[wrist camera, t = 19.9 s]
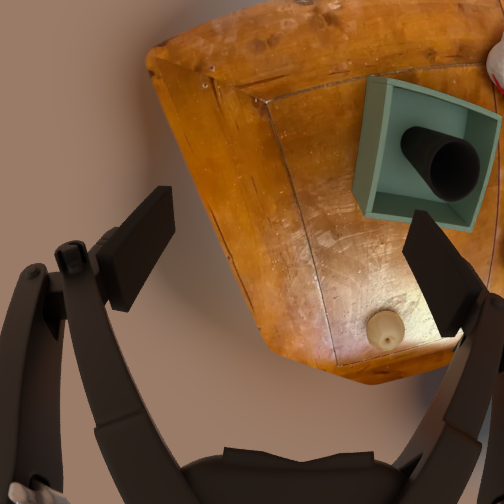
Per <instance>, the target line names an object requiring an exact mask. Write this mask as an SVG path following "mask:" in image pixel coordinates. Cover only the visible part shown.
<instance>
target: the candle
mask: <svg viewBox="0 0 504 504" xmlns="http://www.w3.org/2000/svg"><path fill="white" fill-rule="evenodd" d="M486 68H487V72H488V75H489V77H490V79H491V80H492V82H493V83H494V84H495V85H496V86H497V88H498V90H499V91H500V93H501V94H502V95H504V32H503V36H502V38H501V41H500V42H499V43H498V44H496V45H495V46H494V47H493V48H492V49H491V51H490V52H489V55H488V58H487V62H486Z"/></svg>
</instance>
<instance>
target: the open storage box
mask: <svg viewBox="0 0 504 504" xmlns="http://www.w3.org/2000/svg"><path fill="white" fill-rule="evenodd" d="M501 123H502V116H501V115H498V114H496V113H494V112H492V111H489V110H487V109H485V108H482V107H480V106H477V105H475V104H472V103H470V102H467V101H464V100H462V99H459V98H456V97H453V96H451V95H448V94H445V93H442V92H439V91H436V90H432V89H429V88H426V87H422V86H419V85H416V84H412V83H408V82H405V81H401V80H397V79H393V78H388V77H375V76H367V85H366V95H365V104H364V112H363V120H362V128H361V135H360V142H359V149H358V155H357V162H356V168H355V174H354V180H353V185H352V192H353V195H354V197H355V199H356V201H357V203H358V205H359V207H360V209H361V211H362V213H363V215H364V217H365V218H374V219H382V220H389V221H397V222H404V223H411V222H412V218H413V215H414V211H415V209H417V210H423V211H427V212H428V213H429V215H430V216H431V217H432V218H433V220H434V221H435V222H436V223H437V225H438V226H439V227H440V228H445V229H452V230H458V231H464V232H470V233H472V230H473V227H474V225H475V222H476V219H477V216H478V213H479V210H480V207H481V204H482V201H483V198H484V194H485V191H486V188H487V184H488V181H489V177H490V173H491V170H492V166H493V162H494V157H495V153H496V149H497V144H498V139H499V134H500V129H501ZM413 126H419V127H424V128H427V129H431V130H434V131H438V132H441V133H445V134H448V135H451V136H454V137H457V138H461V139H464V140H466V141H467V142H469V143H470V144H471V145H472V146H473V147H474V148H475V150H476V152H477V154H478V156H479V160H480V175H479V179H478V182H477V184H476V186H475V187H474V189H473V190H472V192H471V193H470V194H469V195H468V196H466V197H465V198H463V199H461V200H459V201H454V202H449V201H444V200H442V199H440V198H438V197H437V196H436V195H435V194H434V193H433V192H432V190H431V189H430V188H429V186H428V185H427V184H426V182H425V181H424V180H423V178H422V177H421V176H420V175H419V173H418V172H417V171H416V170H415V168H414V167H413V166H412V165H411V163H410V162H409V161H408V160H407V159H406V157H405V156H404V155H403V153H402V151H401V147H400V141H401V137H402V135H403V133H404V132H405V131H406V130H407V129H409V128H411V127H413Z"/></svg>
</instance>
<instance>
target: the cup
mask: <svg viewBox="0 0 504 504" xmlns="http://www.w3.org/2000/svg"><path fill="white" fill-rule="evenodd" d="M400 147H401V151H402V153H403V155H404V156H405V157H406V159H407V160H408V161H409V162H410V163H411V165H412V166H413V167H414V168H415V170H416V171H417V172H418V173H419V175H420V176H421V177H422V178H423V180H424V181H425V182H426V184H427V185H428V186H429V188H430V189H431V190H432V192H433V193H434V194H435V195H436V196H437V197H438V198H440V199H442V200H444V201H449V202H454V201H459V200H461V199H463V198H465V197H466V196H468V195H469V194H470V193H471V192H472V190H473V189H474V187H475V186H476V184H477V182H478V179H479V175H480V160H479V156H478V154H477V152H476V150H475V148H474V147H473V146H472V145H471V144H470V143H469V142H467V141H466V140H464V139H461V138H457V137H454V136H451V135H448V134H445V133H441V132H438V131H434V130H431V129H427V128H424V127H419V126H413V127H411V128H409V129H407V130H406V131H405V132H404V133H403V135H402V137H401V141H400Z"/></svg>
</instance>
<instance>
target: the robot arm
mask: <svg viewBox="0 0 504 504" xmlns="http://www.w3.org/2000/svg"><path fill="white" fill-rule="evenodd" d="M174 233H175V221H174V211H173V200H172V187H171V186H158V187H157V188H156V189H155V190H154V191H153V192H152V193H151V194H150V195H149V196H148V197H147V198H146V199H145V200H144V201H143V202H142V203H141V204H140V205H139V206H138V207H137V208H136V209H135V210H134V211H133V213H132V214H131V215H130V216H129V217H128V218H127V219H126V220H125V221H124V222H123V223H122V225H121V226H120V227H114V228H112V229H111V230H109V231H107V232H106V233H105V234H104V235H103V236H102V237H101V239H99V241H98V242H97V243H96V244H95V245H94V246H93V247H92V248H91V250H90V251H89V252H88V253H87V250H86V246H85V244H84V242H82V241H78V240H74V241H69V242H66V243H64V244H62V245H61V246H59V247H58V248H57V249H56V251H55V254H54V255H55V258H56V261H57V264H58V267H59V270H60V272H52V273H48V271H47V268H46V266H45V265H44V264H41V263H36V264H32V265H30V266H28V267H26V268H25V269H24V270H23V272H22V273H21V274H20V277H19V280H18V282H17V285H16V287H15V290H14V293H13V296H12V299H11V302H10V305H9V308H8V311H7V314H6V317H5V321H4V324H3V328H2V331H1V335H0V504H70V503H69V501H68V500H67V498H66V497H65V496H64V495H63V465H62V451H61V434H60V379H61V377H60V376H61V361H62V360H61V359H62V348H63V338H64V328H65V320H67V319H68V324H69V328H70V334H71V339H72V343H73V348H74V352H75V356H76V360H77V364H78V368H79V371H80V375H81V379H82V382H83V385H84V389H85V392H86V396H87V399H88V402H89V405H90V408H91V411H92V414H93V417H94V420H95V423H96V428H94V433H95V437H96V440H97V443H98V445H99V448H100V450H101V453H102V455H103V458H104V460H105V462H106V465H107V467H108V469H109V471H110V474H111V476H112V478H113V480H114V482H115V485H116V486H117V489H118V491H119V493H120V495H121V497H122V499H123V501H124V502H125V504H457V502H458V501H459V499H460V497H461V495H462V493H463V491H464V489H465V487H466V485H467V483H468V481H469V479H470V476H471V474H472V472H473V470H474V467H475V465H476V463H477V460H478V458H479V455H480V453H481V449H482V443H480V442H479V441H477V438H478V435H479V432H480V430H481V427H482V424H483V421H484V419H485V415H486V413H487V410H488V406H489V403H490V400H491V396H492V412H491V422H490V432H489V440H488V447H487V453H486V459H485V465H484V470H483V475H482V479H481V484H480V489H479V494H478V498H477V504H504V299H503V298H502V297H501V296H499V295H497V294H495V293H489V291H488V290H487V288H486V286H485V285H484V283H483V282H482V280H481V279H480V278H479V276H478V274H477V273H476V272H475V270H474V269H473V267H472V266H471V264H470V263H469V262H468V261H466V260H465V259H464V258H463V257H462V256H461V255H460V254H459V252H458V251H457V249H456V248H455V247H454V245H453V244H452V243H451V241H450V240H449V239H448V237H447V236H446V235H445V233H444V232H443V231H442V230H441V228H440V227H439V226H438V225H437V223H436V222H435V221H434V220H433V218H432V217H431V216H430V215H429V213H428V212H427V211H423V210H417V209H415V211H414V215H413V218H412V222H411V225H410V228H409V232H408V235H407V238H406V241H405V244H404V247H403V250H402V253H403V255H404V256H405V258H406V260H407V262H408V264H409V266H410V268H411V270H412V272H413V274H414V276H415V279H416V281H417V283H418V285H419V287H420V289H421V291H422V293H423V296H424V298H425V300H426V302H427V304H428V307H429V309H430V311H431V314H432V316H433V318H434V321H435V323H436V325H437V328H438V330H439V333H440V335H441V337H455V336H456V334H457V332H458V331H459V329H460V328H462V330H463V332H464V334H463V336H462V337H461V339H460V340H459V342H458V343H457V345H456V346H455V348H454V349H453V350H452V351H453V352H455V353H454V356H453V358H452V360H451V363H450V365H449V367H448V370H447V372H446V374H445V376H444V378H443V380H442V383H441V385H440V387H439V389H438V391H437V393H436V395H435V397H434V399H433V401H432V403H431V404H430V406H429V408H428V410H427V412H426V414H425V416H424V417H423V419H422V421H421V423H420V425H419V426H418V428H417V430H416V431H415V433H414V435H413V436H412V438H411V440H410V441H409V443H408V444H407V446H406V447H405V449H404V451H403V452H402V454H401V455H400V456H399V457H398V459H397V460H396V461H395V462H394V463H393V464H392V465H389V464H387V463H385V462H382V461H378V460H374V452H373V451H371V452H357V453H339V454H335V455H331V456H328V457H323V458H319V459H315V460H311V461H306V462H298V461H294V460H290V459H286V458H283V457H279V456H276V455H272V454H269V453H266V452H263V451H254V450H244V449H235V448H227V447H224V452H223V455H214V456H209V457H205V458H201V459H198V460H196V461H193V462H191V463H189V464H187V465H185V466H183V467H182V468H180V466H179V464H178V463H177V461H176V460H175V458H174V456H173V455H172V453H171V451H170V450H169V448H168V446H167V445H166V443H165V441H164V439H163V438H162V436H161V434H160V432H159V430H158V428H157V426H156V424H155V423H154V421H153V419H152V417H151V415H150V413H149V411H148V409H147V407H146V405H145V403H144V401H143V399H142V397H141V395H140V393H139V390H138V388H137V386H136V384H135V382H134V379H133V377H132V375H131V373H130V370H129V368H128V366H127V363H126V361H125V359H124V356H123V354H122V351H121V349H120V346H119V344H118V341H117V339H116V336H115V334H114V331H113V328H112V325H111V323H110V320H109V317H108V315H107V311H106V309H105V304H106V303H107V301H108V300H109V301H110V304H111V307H112V310H117V311H122V312H129V310H130V308H131V306H132V304H133V303H134V301H135V299H136V297H137V295H138V294H139V292H140V290H141V288H142V286H143V285H144V283H145V281H146V280H147V278H148V276H149V274H150V273H151V271H152V269H153V268H154V266H155V264H156V263H157V261H158V259H159V257H160V256H161V254H162V252H163V251H164V249H165V248H166V246H167V244H168V243H169V241H170V239H171V238H172V236H173V235H174ZM455 350H456V351H455ZM492 393H493V394H492Z"/></svg>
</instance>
